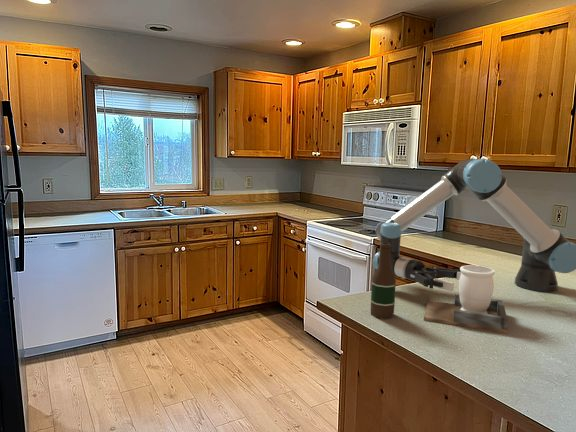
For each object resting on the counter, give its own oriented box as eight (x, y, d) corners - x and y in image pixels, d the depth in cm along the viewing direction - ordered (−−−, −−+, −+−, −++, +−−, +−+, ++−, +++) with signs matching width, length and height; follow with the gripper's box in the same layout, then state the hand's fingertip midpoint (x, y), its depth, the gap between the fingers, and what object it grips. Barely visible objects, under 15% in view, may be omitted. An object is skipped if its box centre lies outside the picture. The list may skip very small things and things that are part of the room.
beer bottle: (365, 314, 139) (368, 243, 135) (378, 308, 144) (382, 239, 141) (385, 321, 133) (389, 247, 130) (398, 315, 139) (402, 243, 135)
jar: (456, 305, 145) (459, 263, 143) (489, 309, 142) (493, 266, 139) (456, 316, 136) (460, 271, 133) (492, 321, 132) (496, 275, 130)
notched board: (502, 313, 141) (503, 300, 141) (507, 333, 126) (508, 318, 125) (427, 303, 150) (428, 290, 150) (423, 320, 135) (424, 306, 134)
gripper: (429, 273, 163) (482, 287, 147) (387, 285, 148) (442, 302, 131) (430, 254, 162) (484, 266, 145) (388, 264, 147) (443, 279, 130)
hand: (464, 283), depth 138 cm, fingers open, 13 cm apart
